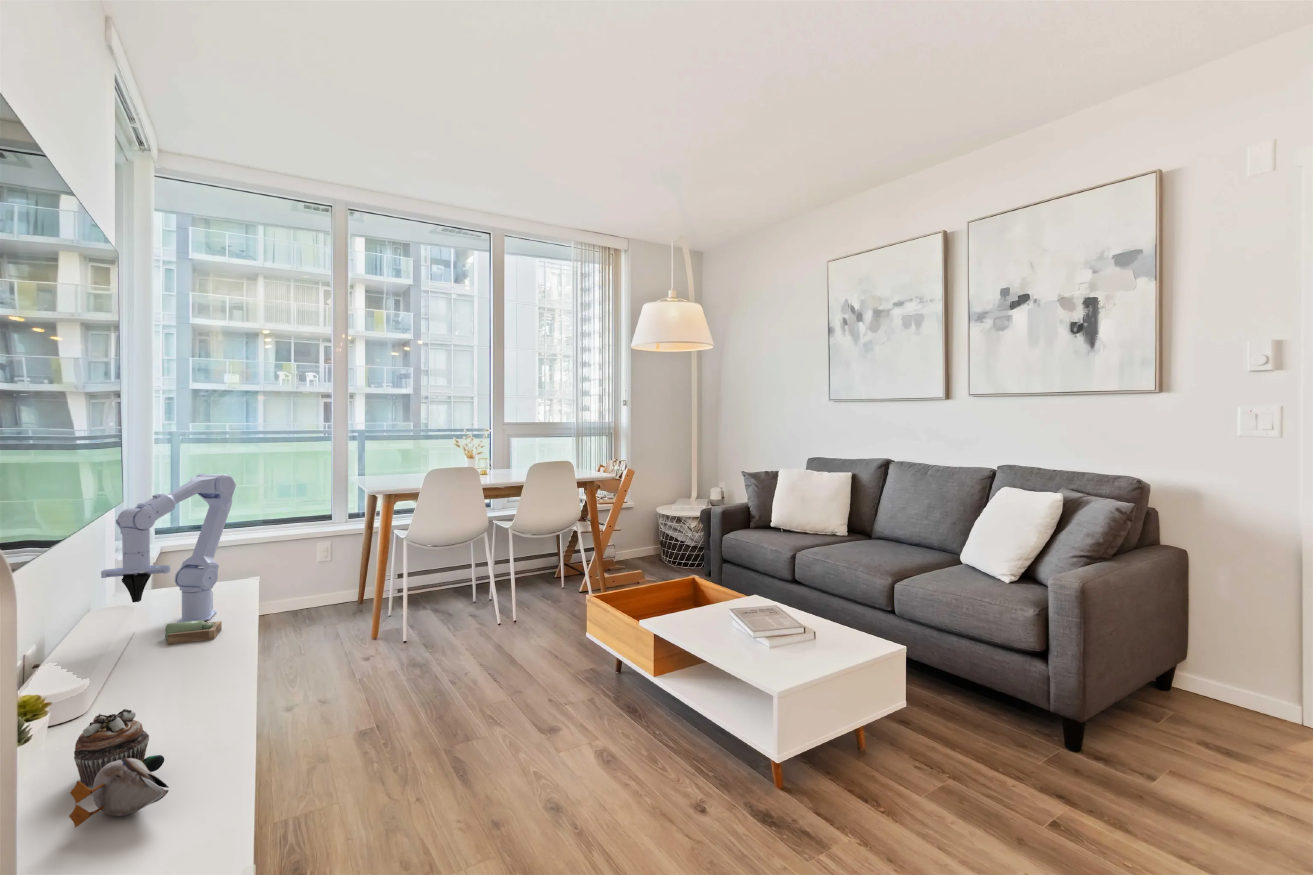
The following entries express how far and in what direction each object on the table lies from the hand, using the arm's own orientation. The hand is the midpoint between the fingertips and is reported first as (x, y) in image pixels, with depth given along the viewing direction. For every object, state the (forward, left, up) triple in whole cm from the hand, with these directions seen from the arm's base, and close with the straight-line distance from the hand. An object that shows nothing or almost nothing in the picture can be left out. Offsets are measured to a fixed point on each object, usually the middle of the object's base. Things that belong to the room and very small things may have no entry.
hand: (136, 601), depth 168 cm
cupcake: (+79, +20, -11) cm, 82 cm away
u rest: (+4, +14, -10) cm, 18 cm away
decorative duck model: (+91, +27, -11) cm, 96 cm away
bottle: (+4, +8, -8) cm, 12 cm away
